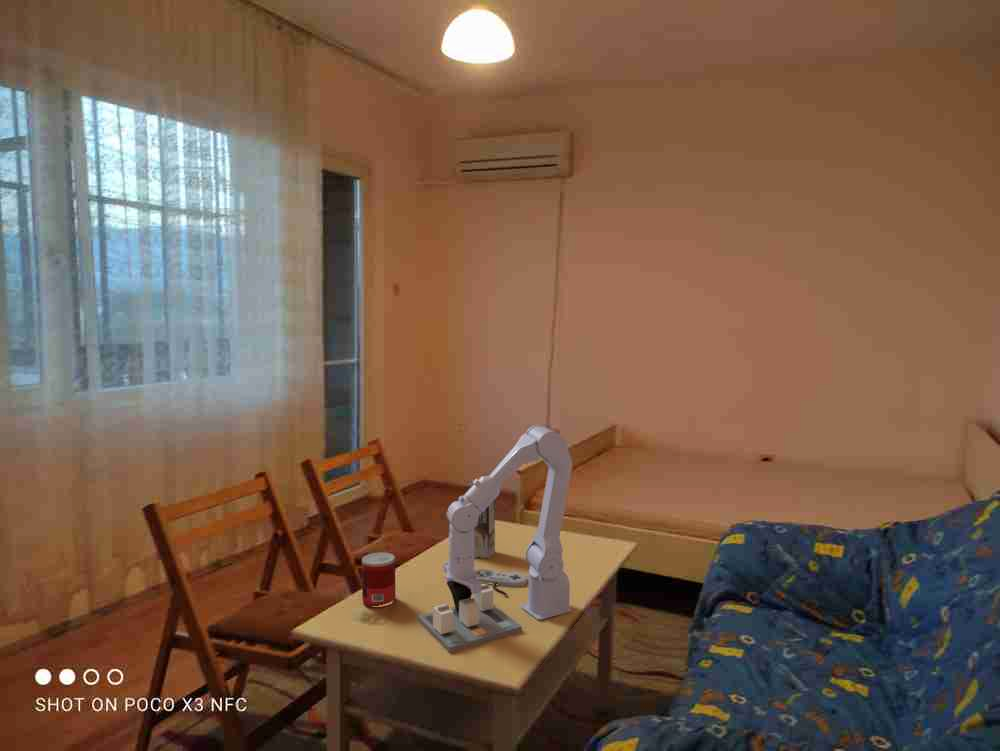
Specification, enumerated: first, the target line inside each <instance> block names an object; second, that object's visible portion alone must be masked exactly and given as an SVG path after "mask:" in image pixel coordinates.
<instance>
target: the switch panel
mask: <svg viewBox="0 0 1000 751" xmlns="http://www.w3.org/2000/svg"><path fill="white" fill-rule="evenodd" d="M449 608H450V609H451V610H452V611H454V626H453V631H452V632H449V633H445V634H440V633H439V632H438V631H437V630H436V629H435V628H434V627H433V611H432V612H428V613H425V614H421V615H417V623H420V625H421V626H422V627H423V628H424V629H425V630H426V631H427V632H428V633H429V634H430V635H432V637H433V638H434V639H435V640H436V641H437V642H438V643H439V644H440V645H441V646H442V647H443V648H444V649H445V650H446V651H447V652H448V653H453V652H456V651H460V650H464V649H467V648H470V647H473V646H478V645H480V644H484V643H487V642H490V641H493V640H497V639H502V638H504V637H508V636H512V635H514V634H517V633H521V632H523V627H522V625H521V624H519V623H518V622H517V621H515V620H514V619H513V618H512V617H510V616H509V615H508V614H506V613H505V612H504V611H503V610H501V609H500V608H499V607H497V606H496V605H495V604H493V609H489V610H485V611H481V610H480V609H479V624H477V625H473V626H470V627H467V626H466V625H465V624H463V623H462V622H461V621H460V620H459V613H457V612H456V609H455V606H452V607H449Z"/></svg>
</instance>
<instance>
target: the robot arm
mask: <svg viewBox="0 0 1000 751" xmlns="http://www.w3.org/2000/svg"><path fill="white" fill-rule="evenodd" d="M541 460H542V461H543V462H544V463H545V465H546V466H547V467H548V471H547V476H546V481H545V487H544V494H543V498H542V505H541V508H540V509H541V511H540V514H539V521H538V525H537V531H536V532H535V533H534V534H533V535H532V536H531V537H532V538H531V540H530V543H529V545H528V546H527V548H526V550H525V560H526V561H527V563H528V564H529V570H528V588H527V589H528V597H527V599H528V600H527V603H524V604H521V605H520V608H521V609H523V610H524V611H525V612H527V613H528V614H529V615H531V616H532V617H533V618H534V619H537V621H542V620H545V619H548V618H552V617H556V616H559V615H562V614H566V613H570V612H572V608H570V591H571V588H570V587H571V586H570V585H571V584H570V580H569V577H568V575H567V573H566V572H565V571H563V570H564V566H565V565H564V560H563V547H562V542H561V539H560V537H561V531H562V526H563V520H564V514H565V511H566V510H565V509H566V503H567V498H568V493H569V488H570V487H569V486H570V482H571V476H572V470H573V461H572V458H571V455H570V452H569V449H568V442H567V441H566V440H565V439H564V437H563V436H562V434H560V433H558V432H556V431H553V430H551V429H549V428H548V427H546V426H545V425H543V424H534V425H532V426H531V427H529V428H528V429H527V431H526V432H525V433H524V434H522V435H521V436H520V437H519V439H518V441H517V442H516V444H515V445H514V447H512V448H511V450H510V451H509V452H508V453H507V454H506V455H505V457H504V458H503V459H502V460H501V462H499V464H498V465H497V466H496V467H495V469H494V470H493V471H492V472H491V473H490V475H484V476H480V477H479V478H475V479H474V480H473V481H472V484H473V485H472V486H471V487H470V488H469V489H468V490H467V491H466V492H465V493H464V494H463V495H460V496H459V497H458V500H457V501H456V500H455V501H453V502H452V503H451V504H450V505H449V506H448V508H447V511H446V512H445V516H446V518H447V520H448V522H449V533H448V561H447V562H443V572H445V573H447V574H444V579H445V580H446V581H447V582H446V584H447V587H448V588H449V591H450V592H451V593H450V594H451V596H452V599H453V604H454V607H455V609H456V612H457V613H459V601H460V600H464V599H468V598H472V595H474V594H475V593H479V592H481V584H482V583H479V581H478V579H477V577H476V574H475V572H474V570H475V557H474V527H476V525H477V523H478V517H479V515H480V514H481V513H482V512H483V511H484V510H485V509H486V508H487V507H488V506H489V505H490V504H491V503H492V502H493V501H494V500H495V501H496V499H497V498H498V497H499V496H500V492H501V486H502V485H503V484H504V483H505V482H506V481H507V480H508V479H509V478H510V477H511V476H513V474H515V473H516V472H517V471H518V469H520V468H521V467H522V466H523V465H524V464H526V463H530V462H531V463H532V462H540V461H541Z"/></svg>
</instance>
